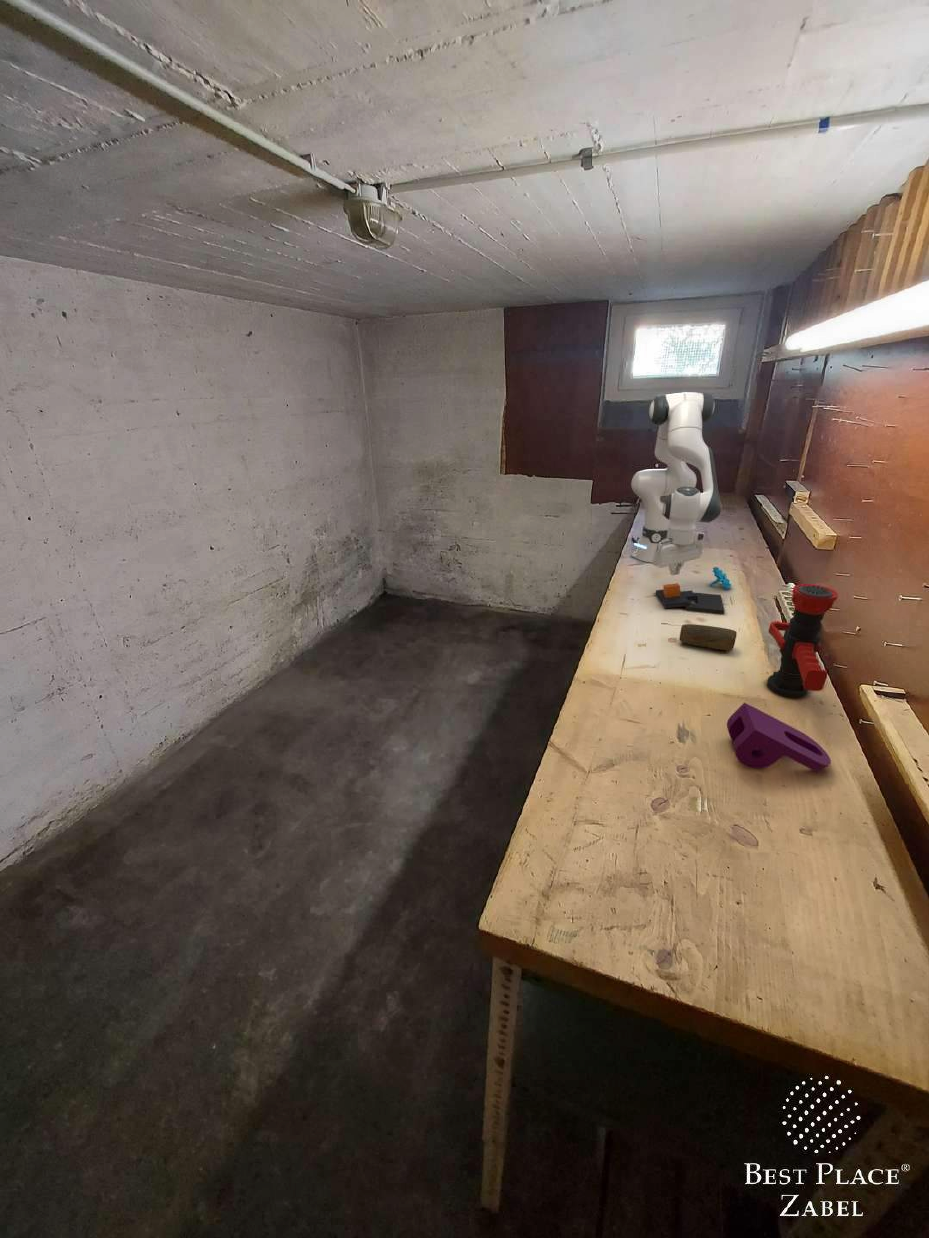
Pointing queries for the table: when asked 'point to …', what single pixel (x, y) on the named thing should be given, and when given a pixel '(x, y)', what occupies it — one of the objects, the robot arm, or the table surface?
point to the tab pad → (676, 599)
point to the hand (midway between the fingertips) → (674, 574)
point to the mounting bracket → (771, 741)
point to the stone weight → (708, 636)
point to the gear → (721, 578)
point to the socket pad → (707, 604)
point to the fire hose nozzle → (801, 643)
